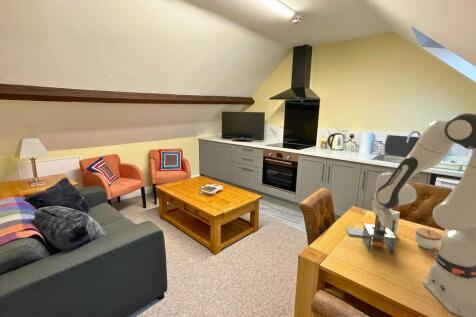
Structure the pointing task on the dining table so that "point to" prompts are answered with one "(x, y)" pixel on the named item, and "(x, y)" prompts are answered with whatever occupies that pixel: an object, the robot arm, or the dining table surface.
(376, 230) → the brown rectangular block
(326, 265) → the dining table surface
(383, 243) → the button
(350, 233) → the slate pad
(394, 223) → the syrup box
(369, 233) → the frame
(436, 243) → the lidded jar
